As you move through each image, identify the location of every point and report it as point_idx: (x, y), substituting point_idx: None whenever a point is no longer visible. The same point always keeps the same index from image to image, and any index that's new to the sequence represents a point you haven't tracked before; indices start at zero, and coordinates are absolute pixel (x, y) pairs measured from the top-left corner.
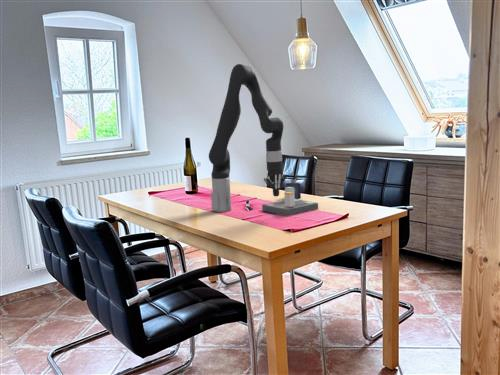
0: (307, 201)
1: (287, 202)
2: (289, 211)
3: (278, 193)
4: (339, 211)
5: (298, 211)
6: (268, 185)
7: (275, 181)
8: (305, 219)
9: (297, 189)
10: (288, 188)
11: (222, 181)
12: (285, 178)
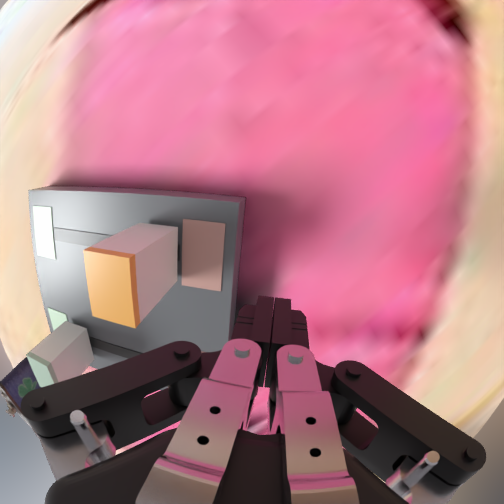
0: (37, 258)
1: (166, 262)
2: (218, 198)
3: (260, 306)
4: (45, 80)
5: (150, 190)
6: (372, 424)
7: (326, 424)
8: (248, 52)
9: (16, 378)
10: (52, 375)
11: None
12: (57, 387)
